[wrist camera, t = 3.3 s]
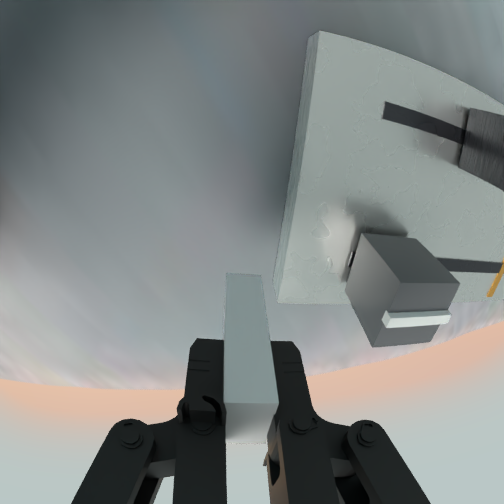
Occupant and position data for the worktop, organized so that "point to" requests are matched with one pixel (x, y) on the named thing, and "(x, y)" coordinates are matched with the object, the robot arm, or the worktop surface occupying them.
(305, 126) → the console
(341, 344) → the worktop surface
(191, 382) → the robot arm
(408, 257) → the fader
